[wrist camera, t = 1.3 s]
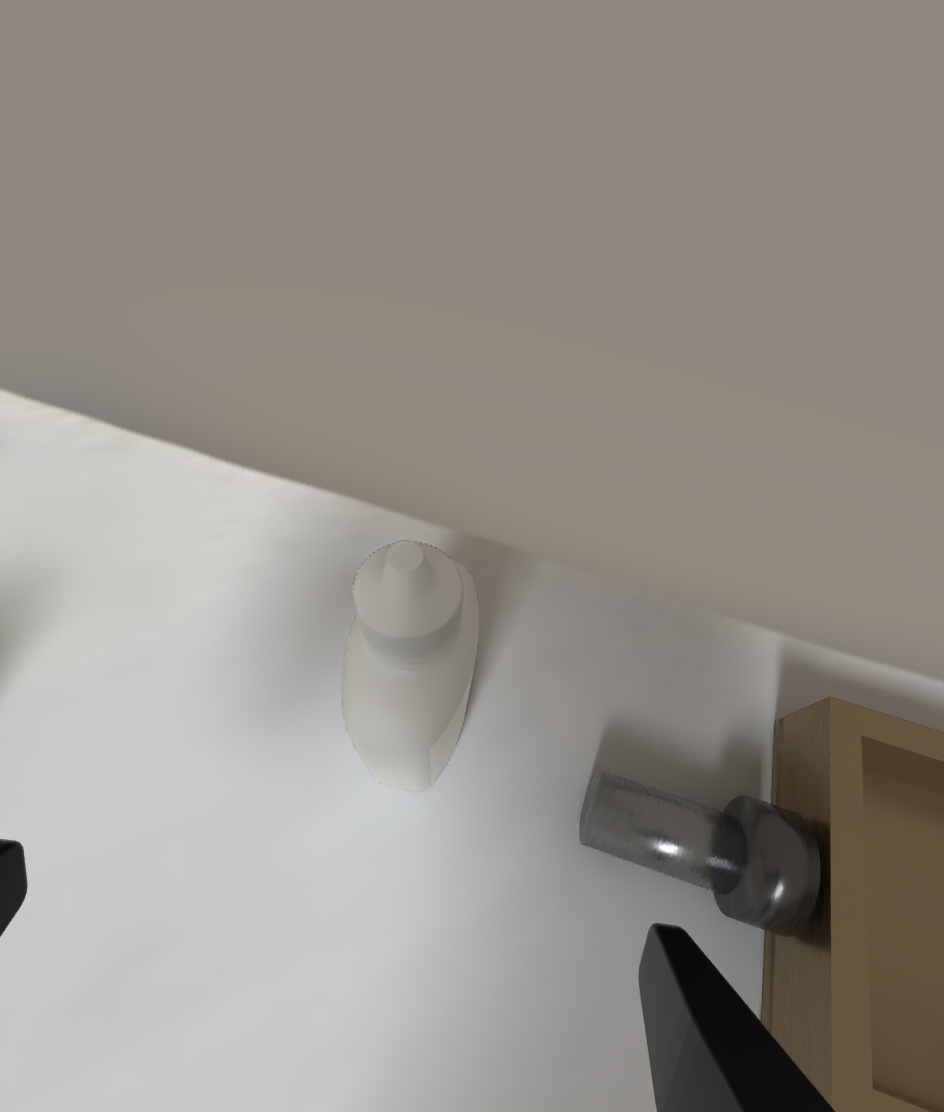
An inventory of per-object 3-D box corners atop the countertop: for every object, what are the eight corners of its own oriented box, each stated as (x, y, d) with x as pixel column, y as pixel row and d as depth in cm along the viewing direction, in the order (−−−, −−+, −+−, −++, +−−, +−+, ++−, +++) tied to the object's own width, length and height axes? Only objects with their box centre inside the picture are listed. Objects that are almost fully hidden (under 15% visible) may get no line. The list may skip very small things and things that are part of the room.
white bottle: (510, 696, 22) (579, 531, 11) (408, 815, 20) (379, 745, 9) (428, 625, 23) (424, 418, 13) (323, 729, 21) (213, 580, 10)
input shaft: (761, 817, 20) (820, 806, 17) (754, 931, 18) (820, 943, 15) (592, 759, 21) (620, 738, 18) (571, 865, 19) (598, 863, 16)
